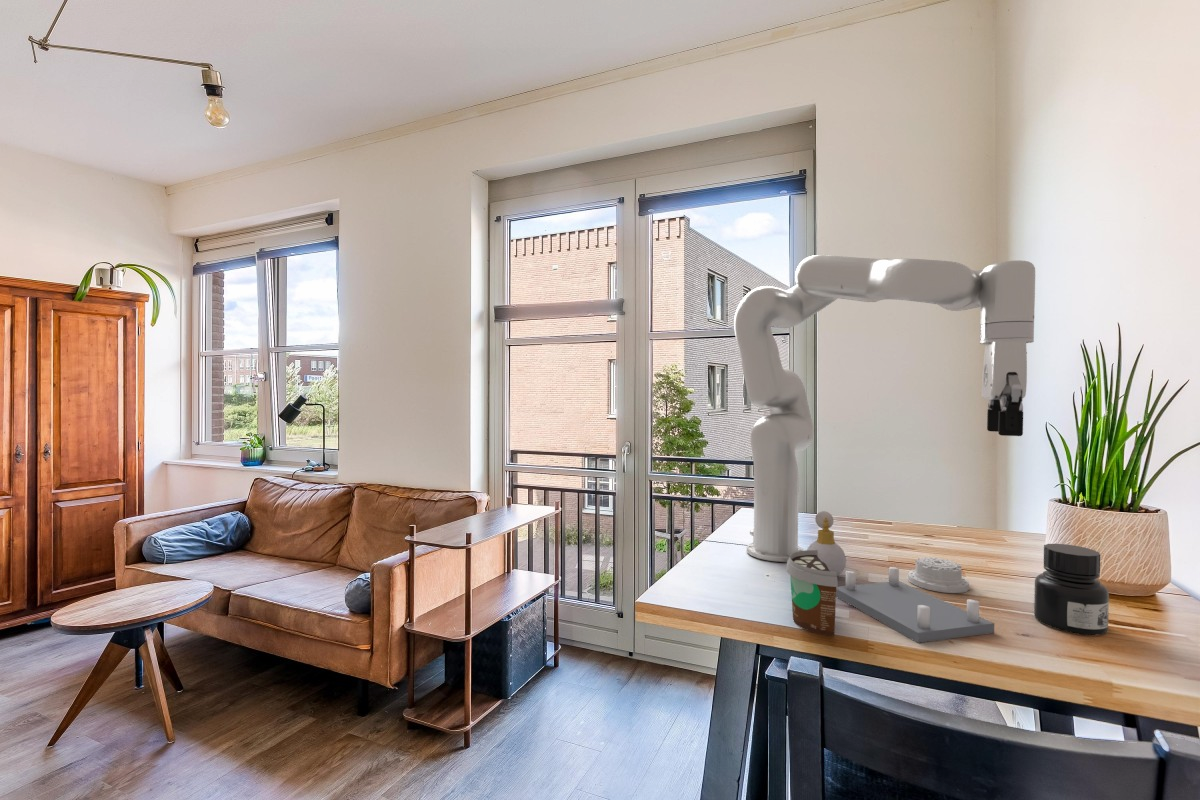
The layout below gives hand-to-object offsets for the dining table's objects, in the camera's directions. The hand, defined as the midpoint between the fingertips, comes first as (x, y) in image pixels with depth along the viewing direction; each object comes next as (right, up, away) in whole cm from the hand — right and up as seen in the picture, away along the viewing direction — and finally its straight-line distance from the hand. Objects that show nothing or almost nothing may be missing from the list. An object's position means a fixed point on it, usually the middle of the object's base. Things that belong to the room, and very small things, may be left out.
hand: (1003, 433), depth 95 cm
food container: (-37, -30, -7) cm, 48 cm away
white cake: (-5, -30, +10) cm, 32 cm away
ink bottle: (+4, -30, -8) cm, 31 cm away
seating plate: (-19, -30, -4) cm, 35 cm away
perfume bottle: (-25, -30, +15) cm, 42 cm away
